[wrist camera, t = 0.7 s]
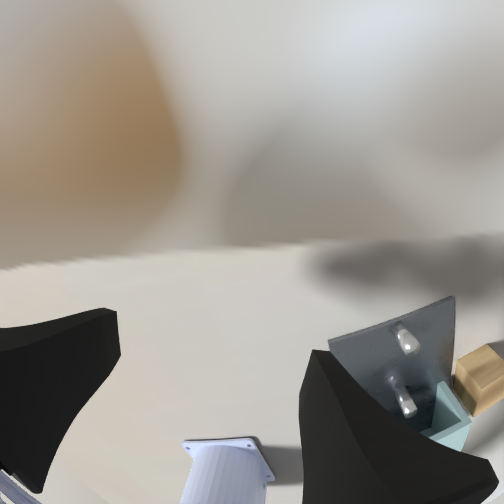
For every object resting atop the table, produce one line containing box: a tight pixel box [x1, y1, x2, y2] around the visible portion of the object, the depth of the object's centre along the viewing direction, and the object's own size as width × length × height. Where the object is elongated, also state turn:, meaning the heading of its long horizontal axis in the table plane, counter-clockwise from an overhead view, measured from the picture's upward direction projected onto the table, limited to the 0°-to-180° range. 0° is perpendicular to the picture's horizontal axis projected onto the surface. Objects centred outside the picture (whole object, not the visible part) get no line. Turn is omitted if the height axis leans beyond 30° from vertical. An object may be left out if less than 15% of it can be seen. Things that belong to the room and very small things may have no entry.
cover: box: [419, 380, 472, 452], centre depth 17 cm, size 8×9×6 cm
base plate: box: [328, 296, 455, 432], centre depth 18 cm, size 17×11×4 cm, turn 18°
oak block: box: [453, 344, 504, 417], centre depth 17 cm, size 4×4×5 cm
